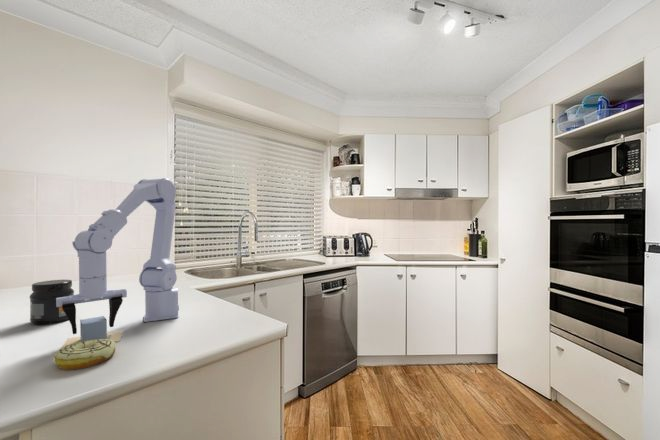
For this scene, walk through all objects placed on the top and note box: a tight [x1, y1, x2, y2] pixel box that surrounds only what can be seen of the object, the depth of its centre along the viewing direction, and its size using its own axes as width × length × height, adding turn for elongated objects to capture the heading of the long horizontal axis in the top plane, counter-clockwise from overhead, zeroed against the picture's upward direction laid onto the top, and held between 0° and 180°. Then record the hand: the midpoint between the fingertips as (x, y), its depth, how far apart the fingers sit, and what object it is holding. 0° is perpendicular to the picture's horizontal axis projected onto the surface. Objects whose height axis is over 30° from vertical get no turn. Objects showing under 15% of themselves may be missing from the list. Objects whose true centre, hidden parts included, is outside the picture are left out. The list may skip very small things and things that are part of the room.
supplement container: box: [29, 279, 75, 326], centre depth 101 cm, size 10×10×12 cm
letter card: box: [60, 330, 123, 349], centre depth 83 cm, size 12×9×1 cm
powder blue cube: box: [79, 315, 108, 341], centre depth 83 cm, size 5×5×5 cm
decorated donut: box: [54, 339, 117, 371], centre depth 71 cm, size 10×11×4 cm
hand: (93, 329), depth 83 cm, fingers open, 7 cm apart
